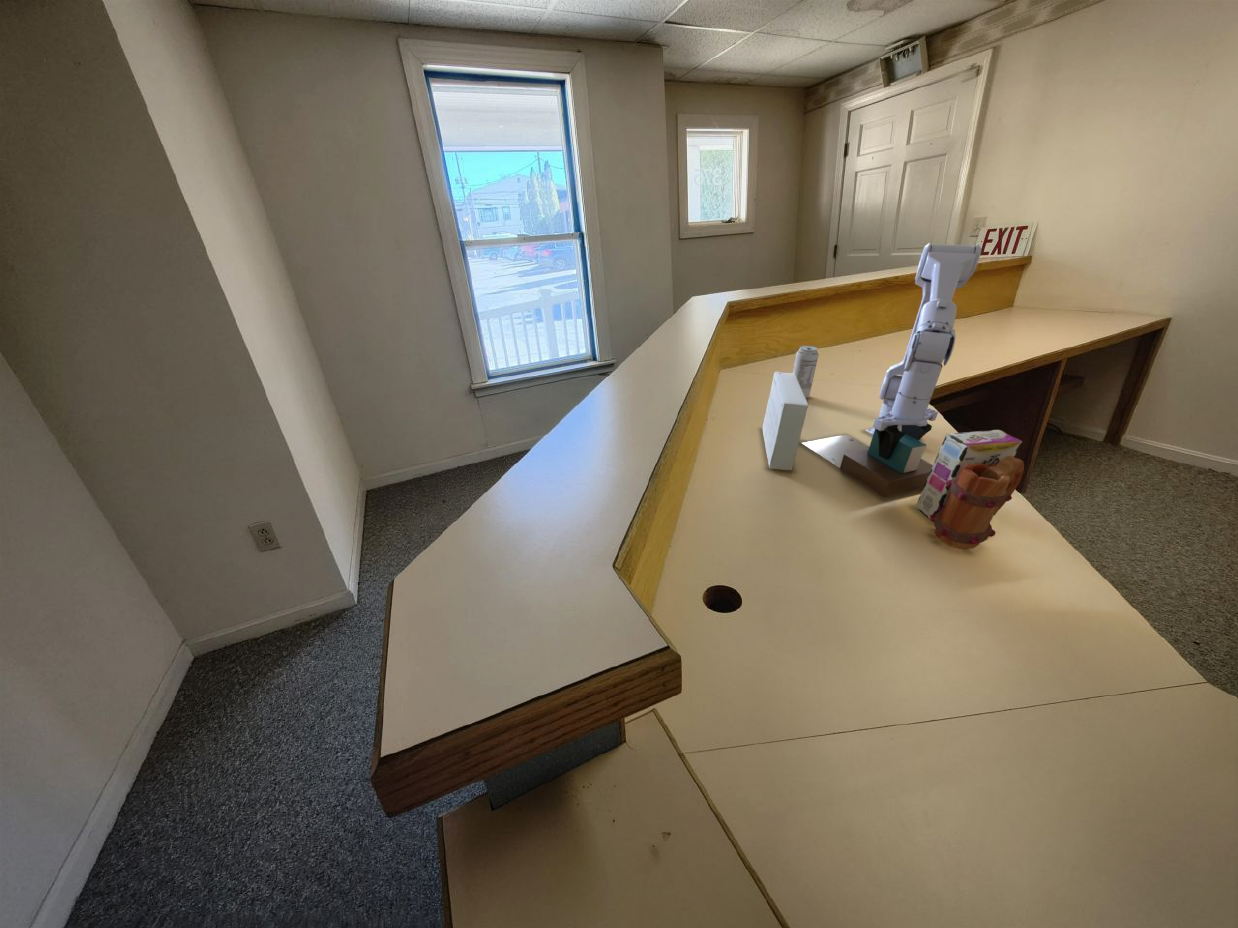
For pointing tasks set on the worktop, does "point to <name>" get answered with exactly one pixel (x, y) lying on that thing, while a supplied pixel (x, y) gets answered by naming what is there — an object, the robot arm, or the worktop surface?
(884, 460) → the teal box
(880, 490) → the step shelf
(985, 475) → the mug
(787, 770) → the worktop surface
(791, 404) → the skincare box
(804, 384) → the energy drink can
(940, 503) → the candy bar box
